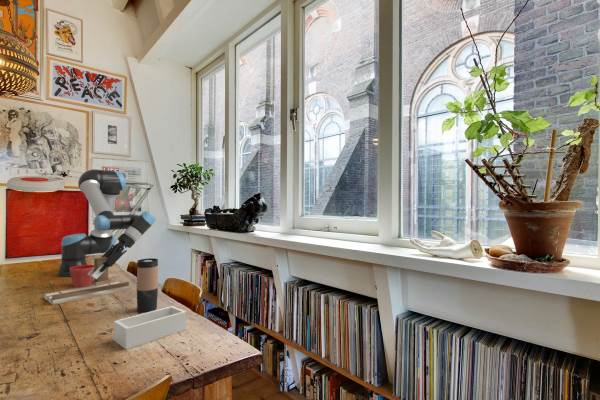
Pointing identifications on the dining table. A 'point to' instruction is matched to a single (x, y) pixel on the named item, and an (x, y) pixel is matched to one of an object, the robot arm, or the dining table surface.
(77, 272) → the flower pot
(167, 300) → the dining table surface
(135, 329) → the white rectangular planter box
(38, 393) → the dining table surface
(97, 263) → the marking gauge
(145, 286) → the travel mug
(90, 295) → the birch board
